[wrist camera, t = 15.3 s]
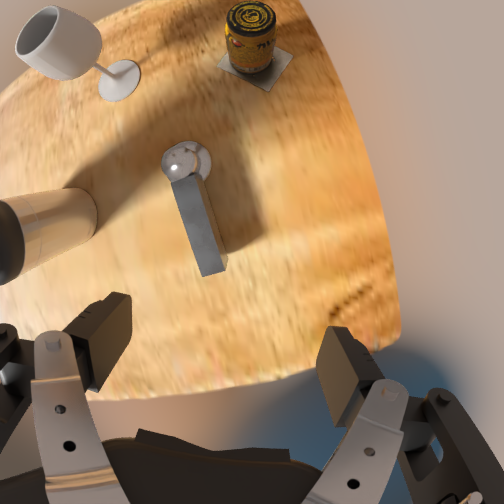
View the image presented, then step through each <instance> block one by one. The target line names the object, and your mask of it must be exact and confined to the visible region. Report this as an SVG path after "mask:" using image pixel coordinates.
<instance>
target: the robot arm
mask: <svg viewBox="0 0 504 504" xmlns="http://www.w3.org/2000/svg"><path fill="white" fill-rule="evenodd" d="M96 226H97V210H96V206H95V203H94V201H93V199H92V197H91V196H90V195H89V194H88V193H87V192H86V191H85V190H83V189H80V188H75V187H74V188H67V189H59V190H52V191H45V192H39V193H33V194H27V195H21V196H16V197H11V198H6V199H1V200H0V285H4V284H6V283H8V282H10V281H12V280H13V279H15V278H17V277H18V276H20V275H22V274H24V273H26V272H27V271H29V270H31V269H33V268H35V267H37V266H38V265H40V264H42V263H44V262H46V261H48V260H50V259H52V258H54V257H56V256H58V255H60V254H62V253H64V252H66V251H68V250H70V249H72V248H74V247H76V246H78V245H81V244H83V243H85V242H86V241H88V240H89V239H90V238H91V237H92V235H93V233H94V232H95V229H96ZM131 336H132V299H131V296H130V295H127V294H123V293H118V292H111V293H110V294H109V295H108V296H107V297H106V298H105V299H104V300H103V301H101V300H99V301H97V302H94V303H92V304H90V305H89V306H88V307H87V308H86V309H85V310H84V311H83V312H81V313H80V314H79V315H78V317H76V318H75V319H74V320H73V321H72V322H71V323H70V324H69V325H68V326H67V327H66V328H65V329H64V330H63V331H47V332H44V333H42V334H40V335H39V336H38V337H37V338H36V339H35V341H31V340H24V339H19V337H18V333H17V329H16V328H15V327H14V326H13V325H11V324H6V323H1V324H0V379H1V381H2V382H1V384H0V453H1V452H2V450H3V448H4V446H5V445H6V443H7V441H8V439H9V438H10V436H11V434H12V433H13V431H14V429H15V428H16V426H17V425H18V423H19V421H20V420H21V418H22V416H23V415H24V413H25V412H26V410H27V409H28V407H29V406H30V404H31V403H32V405H33V414H34V422H35V429H36V435H37V440H38V446H39V451H40V455H41V460H42V465H43V466H42V467H39V468H37V469H34V470H31V471H28V472H25V473H22V474H20V475H17V476H13V477H10V478H7V479H4V480H0V504H378V503H379V501H380V498H381V496H382V494H383V492H384V489H385V487H386V484H387V482H388V479H389V477H390V474H391V472H392V469H393V466H394V463H395V461H396V458H397V459H398V462H399V464H400V467H401V470H402V472H403V475H404V478H405V481H406V484H407V486H408V489H409V492H410V495H411V498H412V501H413V504H504V471H503V469H502V467H501V465H500V464H499V462H498V460H497V459H496V457H495V456H494V454H493V452H492V450H491V449H490V447H489V446H488V444H487V443H486V441H485V439H484V438H483V436H482V435H481V433H480V432H479V430H478V429H477V427H476V426H475V424H474V423H473V421H472V420H471V418H470V417H469V415H468V414H467V412H466V411H465V409H464V408H463V406H462V405H461V404H460V402H459V401H458V399H457V398H456V397H455V396H454V395H453V394H452V393H451V392H449V391H448V390H445V389H442V388H433V389H431V390H430V391H429V392H428V394H427V395H426V397H425V398H418V397H411V396H409V395H408V392H407V390H406V389H405V387H403V386H402V385H401V384H399V383H398V382H396V381H393V380H389V379H385V377H384V376H383V374H382V372H381V371H380V369H379V368H378V366H377V364H376V363H375V361H374V359H373V358H372V356H371V355H370V353H369V351H368V350H367V348H366V347H365V346H364V345H363V344H362V343H361V342H359V341H358V340H357V339H354V338H353V336H352V335H351V333H350V331H349V330H348V328H347V327H339V326H328V327H327V329H326V332H325V335H324V338H323V341H322V344H321V347H320V350H319V353H318V356H317V360H316V371H317V374H318V377H319V380H320V383H321V386H322V389H323V392H324V395H325V398H326V401H327V405H328V408H329V411H330V414H331V417H332V420H333V423H334V427H347V432H346V434H345V435H344V437H343V438H342V440H341V442H340V443H339V445H338V447H337V448H336V450H335V451H334V453H333V455H332V456H331V458H330V459H329V461H328V462H327V464H326V465H325V467H324V468H323V470H322V471H320V470H318V469H317V468H315V467H313V466H311V465H308V464H306V463H303V462H300V461H297V460H293V459H290V455H289V449H269V448H244V449H234V450H223V451H211V450H208V449H205V448H202V447H199V446H196V445H194V444H191V443H188V442H186V441H184V440H181V439H178V438H176V437H173V436H168V435H164V434H159V433H155V432H151V431H147V430H143V429H138V432H137V435H136V437H135V438H131V437H129V438H115V439H109V440H105V441H102V442H101V441H100V438H99V436H98V433H97V430H96V427H95V424H94V421H93V418H92V415H91V412H90V409H89V406H88V403H87V400H86V396H85V392H86V391H87V389H88V390H91V391H94V392H97V393H98V392H99V391H100V389H101V387H102V386H103V384H104V382H105V381H106V379H107V377H108V376H109V374H110V373H111V371H112V369H113V368H114V366H115V364H116V363H117V361H118V360H119V358H120V356H121V355H122V353H123V352H124V350H125V348H126V347H127V345H128V344H129V342H130V340H131ZM436 437H437V439H438V441H439V442H440V444H441V446H442V448H443V452H444V453H443V459H442V461H441V462H440V463H439V461H438V459H437V457H436V455H435V453H434V451H433V449H432V447H431V445H430V444H431V443H432V442H433V440H434V439H435V438H436Z"/></svg>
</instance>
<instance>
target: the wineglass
mask: <svg viewBox="0 0 504 504" xmlns="http://www.w3.org/2000/svg"><path fill="white" fill-rule="evenodd" d="M101 49H102V38H101V35H100V32H99V30H98V29H97V28H96V27H95V26H94V25H93V24H92V23H91V22H90V21H89V20H87V19H85V18H84V17H82V16H80V15H78V14H76V13H74V12H71V11H69V10H67V9H64V8H61V7H58V6H54V5H53V6H47V7H45V8H43V9H41V10H40V11H38V12H37V13H36V14H35V15H33V16H32V17H31V18H30V19H29V20H28V22H27V23H26V24H25V26H24V27H23V28H22V30H21V32H20V34H19V36H18V38H17V41H16V45H15V52H16V54H17V56H18V57H19V58H21V59H22V60H23V61H24V62H25V63H27V64H28V65H30V66H31V67H32V68H34V69H35V70H37V71H39V72H40V73H42V74H43V75H45V76H47V77H49V78H52V79H56V80H61V81H65V80H71V79H75V78H78V77H80V76H81V75H83V74H85V73H86V72H87V71H88V70H90V69H91V68H92V67H94V68H95V69H97V70H98V71H100V72H102V73H103V74H102V76H101V78H100V81H99V86H98V87H99V93H100V95H101V96H102V98H103V99H105V100H106V101H110V102H117V101H121V100H123V99H125V98H126V97H128V96H129V95H130V94H131V93H132V92H133V91H134V90H135V88H136V87H137V85H138V82H139V79H140V70H139V68H138V66H137V65H136V64H135V63H134V62H132V61H129V60H121V61H117V62H115V63H113V64H112V65H110V66H109V67H108V68H107V69H105V68H104V67H102V66H101V65H99V64H98V63H96V61H97V60H98V57H99V55H100V53H101Z"/></svg>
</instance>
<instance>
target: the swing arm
mask: <svg viewBox="0 0 504 504" xmlns="http://www.w3.org/2000/svg"><path fill="white" fill-rule="evenodd" d="M161 167H162V170H163V172H164V174H165V175H166V176H167V177H169V178H171V179H180V180H177V181H174V182H171V186H172V189H173V193H174V196H175V199H176V202H177V205H178V208H179V211H180V214H181V217H182V220H183V223H184V226H185V229H186V232H187V235H188V238H189V241H190V244H191V247H192V250H193V253H194V255H195V258H196V261H197V264H198V267H199V269H200V272H201V275H202V277H205V276H208V275H212V274H215V273H219V272H223V271H226V266H227V262H228V256H227V253H226V250H225V247H224V244H223V241H222V238H221V235H220V232H219V229H218V226H217V223H216V219H215V216H214V213H213V210H212V207H211V204H210V201H209V197H208V194H207V191H206V188H205V185H204V181H203V178H202V175H198V172H199V171H200V168H201V159H200V157H199V155H198V154H197V153H196V152H195V151H193V150H191V149H188V148H186V147H184V146H173V147H171V148H169V149H168V150H167V151H166V152H165V153H164V155H163V157H162V160H161Z"/></svg>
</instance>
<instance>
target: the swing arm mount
mask: <svg viewBox="0 0 504 504" xmlns="http://www.w3.org/2000/svg"><path fill="white" fill-rule="evenodd" d="M175 146H184V147H186V148H188V149H191V150H193V151H195V152H196V153H197V154H198V155H199V157H200V159H201V168H200V171H199V172H198V175H202V178H203V181H205V180H206V179H207V177H208V176H209V174H210V171H211V167H212V160H211V156H210V154H209V152H208V151H207V149H206V148H205V147H203V146H202V145H201V144H199V143H197V142H193V141H184V142H180V143H178V144H176V145H175ZM168 179H169V180H170V181H171V182H174V181H177V180H180V179H171V178H169V177H168Z"/></svg>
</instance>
